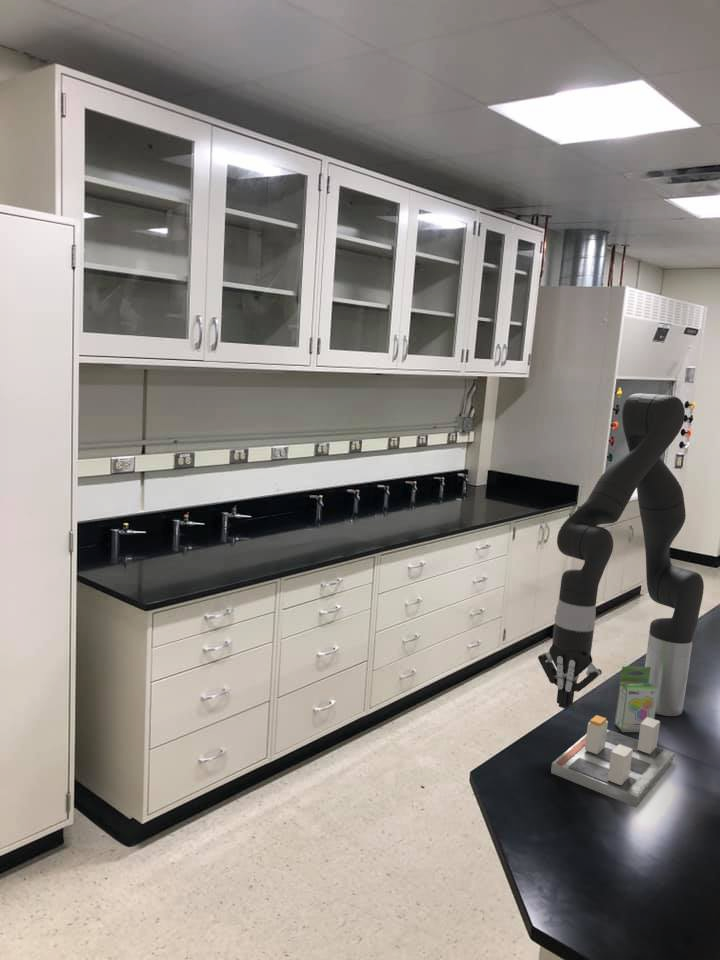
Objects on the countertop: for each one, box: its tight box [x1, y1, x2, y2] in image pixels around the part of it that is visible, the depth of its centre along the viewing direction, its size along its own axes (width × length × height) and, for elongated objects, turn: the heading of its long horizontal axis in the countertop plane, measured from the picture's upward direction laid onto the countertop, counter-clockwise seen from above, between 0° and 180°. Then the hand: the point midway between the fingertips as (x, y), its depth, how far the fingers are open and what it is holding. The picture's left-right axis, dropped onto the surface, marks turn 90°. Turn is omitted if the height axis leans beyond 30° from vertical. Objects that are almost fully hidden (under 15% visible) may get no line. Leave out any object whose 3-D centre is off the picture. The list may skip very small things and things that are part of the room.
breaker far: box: [637, 717, 661, 754], centre depth 151 cm, size 4×2×6 cm, turn 142°
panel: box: [550, 729, 675, 808], centre depth 148 cm, size 22×16×2 cm
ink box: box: [614, 665, 658, 733], centre depth 164 cm, size 7×4×13 cm, turn 98°
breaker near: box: [608, 744, 633, 785], centre depth 139 cm, size 4×2×6 cm, turn 142°
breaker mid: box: [585, 714, 609, 754], centre depth 150 cm, size 4×2×6 cm, turn 142°
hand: (563, 706), depth 153 cm, fingers closed
